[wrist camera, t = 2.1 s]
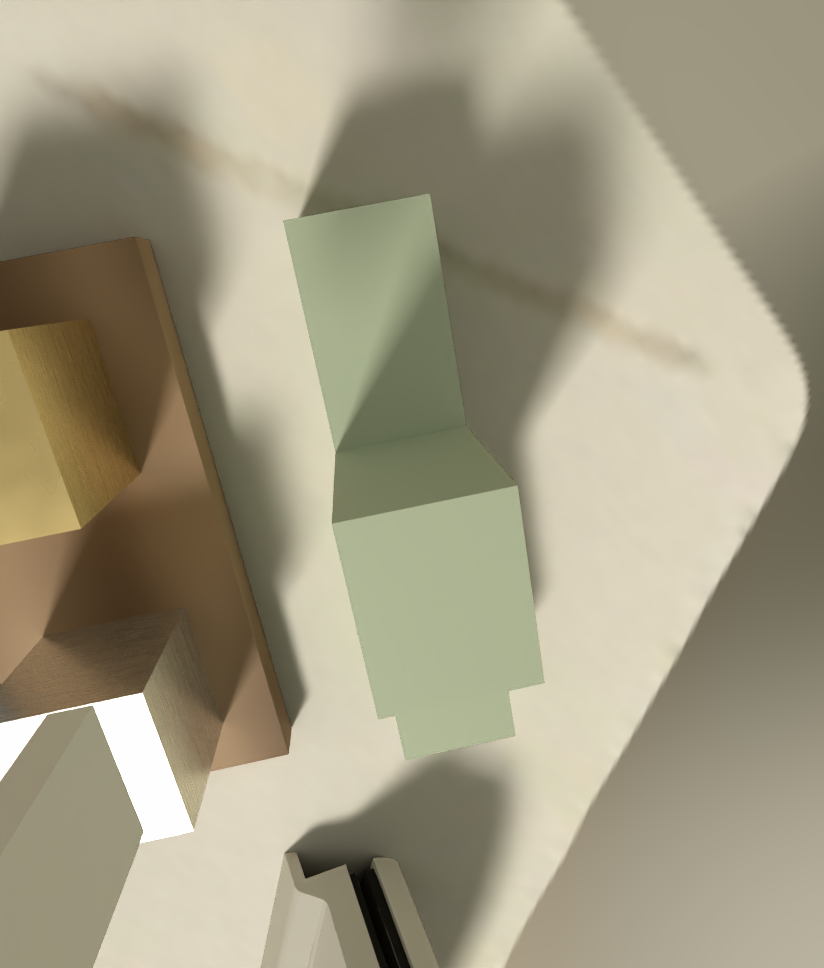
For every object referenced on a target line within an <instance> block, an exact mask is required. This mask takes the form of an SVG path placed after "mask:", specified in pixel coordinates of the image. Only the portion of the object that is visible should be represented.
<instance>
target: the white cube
mask: <svg viewBox="0 0 824 968" xmlns="http://www.w3.org/2000/svg"><path fill="white" fill-rule="evenodd" d="M90 705H93V706H94V708H95V711H96V713H97V716H98V718H99V721H100V723H101V726H102V728H103V731H104V733H105V735H106V738H107V740H108V743H109V745H110V748H111V750H112V753H113V755H114V758H115V760H116V763H117V765H118V767H119V770H120V772H121V775H122V777H123V780H124V782H125V785H126V787H127V790H128V792H129V795H130V797H131V799H132V802H133V804H134V807H135V809H136V812H137V814H138V817H139V819H140V822H141V824H142V827H143V829H144V834H143V836H142V839H141V842H140V843H142V842H146V841H151V840H155V839H160V838H164V837H168V836H173V835H177V834H182V833H186V832H191V831H194V827H195V823H196V820H197V816H198V813H199V809H200V805H201V802H202V798H203V795H204V791H205V787H206V784H207V780H208V777H209V773H210V769H211V766H212V762H213V759H214V755H215V751H216V748H217V744H218V740H219V737H220V733H221V730H222V726H223V721H222V718H221V715H220V711H219V708H218V705H217V702H216V699H215V696H214V693H213V690H212V687H211V684H210V681H209V678H208V675H207V672H206V669H205V666H204V663H203V660H202V657H201V654H200V651H199V648H198V645H197V642H196V639H195V636H194V633H193V630H192V627H191V624H190V621H189V618H188V615H187V612H186V608H185V607H182V608H177V609H172V610H167V611H162V612H158V613H153V614H148V615H143V616H139V617H134V618H129V619H124V620H119V621H115V622H110V623H105V624H100V625H96V626H91V627H86V628H81V629H76V630H72V631H67V632H62V633H57V634H53V635H48V636H43V637H42V638H41V639H40V640H39V641H38V642H37V644H36V645H35V646H34V647H33V648H32V649H31V651H30V652H29V653H28V654H27V655H26V656H25V658H24V659H23V660H22V661H21V662H20V663H19V665H18V666H17V667H16V668H15V669H14V670H13V672H12V673H11V674H10V675H9V676H8V677H7V679H6V680H5V681H4V682H3V683H2V684H1V686H0V781H1V779H2V778H3V776H4V775H5V773H6V772H7V771H8V769H9V768H10V766H11V765H12V764H13V762H14V761H15V759H16V758H17V756H18V755H19V754H20V752H21V751H22V749H23V748H24V746H25V745H26V744H27V742H28V741H29V739H30V738H31V737H32V735H33V734H34V732H35V731H36V729H37V728H38V727H39V725H40V724H41V722H42V721H43V720H44V718H45V717H46V715H47V714H51V713H56V712H61V711H65V710H70V709H75V708H80V707H85V706H90Z"/></svg>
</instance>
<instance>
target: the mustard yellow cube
mask: <svg viewBox="0 0 824 968" xmlns="http://www.w3.org/2000/svg"><path fill="white" fill-rule="evenodd" d="M140 474H141V472H140V469H139V466H138V463H137V460H136V457H135V454H134V451H133V448H132V445H131V442H130V439H129V436H128V433H127V430H126V427H125V424H124V421H123V418H122V415H121V412H120V409H119V406H118V403H117V399H116V396H115V393H114V390H113V387H112V384H111V381H110V378H109V375H108V372H107V369H106V366H105V363H104V360H103V357H102V354H101V351H100V348H99V345H98V342H97V339H96V336H95V333H94V330H93V327H92V324H91V321H90V319H82V320H75V321H68V322H61V323H53V324H46V325H39V326H32V327H24V328H17V329H10V330H4V331H0V545H4V544H9V543H14V542H19V541H24V540H29V539H34V538H38V537H43V536H48V535H53V534H58V533H63V532H68V531H73V530H78V529H82V528H83V527H84V526H85V525H86V524H87V523H88V522H89V521H90V520H91V519H92V518H93V517H94V516H95V515H97V514H98V513H99V512H100V511H101V510H102V509H103V508H104V507H105V506H106V505H107V504H108V503H109V502H111V501H112V500H113V499H114V498H115V497H116V496H117V495H118V494H119V493H120V492H121V491H122V490H123V489H125V488H126V487H127V486H128V485H129V484H130V483H131V482H132V481H133V480H134V479H135V478H136V477H137V476H138V475H140Z"/></svg>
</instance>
